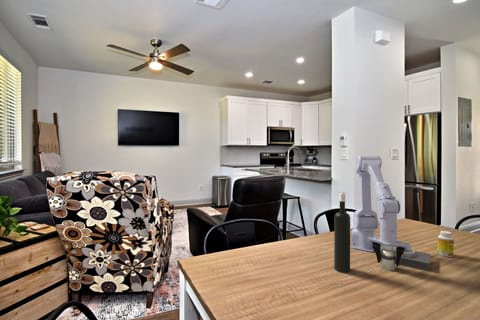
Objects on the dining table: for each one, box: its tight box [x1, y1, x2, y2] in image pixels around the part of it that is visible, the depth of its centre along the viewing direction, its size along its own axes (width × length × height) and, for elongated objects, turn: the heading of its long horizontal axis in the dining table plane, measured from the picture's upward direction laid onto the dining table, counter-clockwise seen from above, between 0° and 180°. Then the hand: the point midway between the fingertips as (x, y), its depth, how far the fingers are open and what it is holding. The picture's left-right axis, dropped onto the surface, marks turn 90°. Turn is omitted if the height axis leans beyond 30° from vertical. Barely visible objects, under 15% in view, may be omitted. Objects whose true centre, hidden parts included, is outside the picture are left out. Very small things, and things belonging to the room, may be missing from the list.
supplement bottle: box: [437, 230, 455, 258], centre depth 115 cm, size 6×6×10 cm
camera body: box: [380, 244, 432, 272], centre depth 110 cm, size 18×12×4 cm, turn 52°
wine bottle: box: [333, 191, 351, 273], centre depth 101 cm, size 6×6×30 cm
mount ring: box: [393, 247, 416, 257], centre depth 110 cm, size 8×8×2 cm
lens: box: [380, 248, 396, 272], centre depth 103 cm, size 5×5×7 cm
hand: (388, 263), depth 103 cm, fingers open, 6 cm apart
